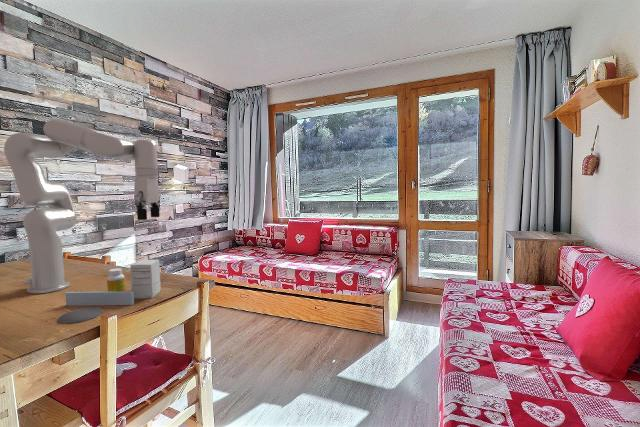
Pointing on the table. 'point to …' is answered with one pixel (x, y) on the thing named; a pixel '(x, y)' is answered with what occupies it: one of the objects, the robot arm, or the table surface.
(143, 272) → the supplement box
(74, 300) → the acrylic wall
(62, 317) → the mat
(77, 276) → the table surface
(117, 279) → the supplement bottle
